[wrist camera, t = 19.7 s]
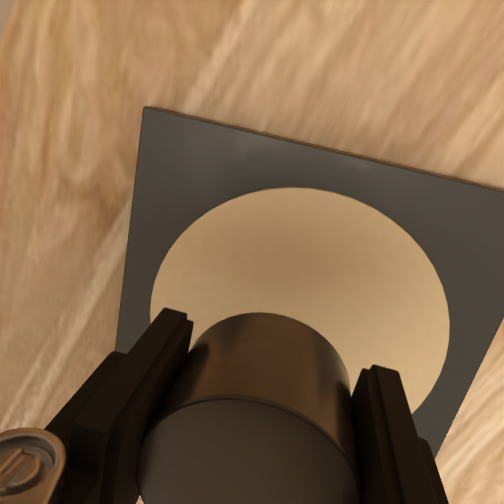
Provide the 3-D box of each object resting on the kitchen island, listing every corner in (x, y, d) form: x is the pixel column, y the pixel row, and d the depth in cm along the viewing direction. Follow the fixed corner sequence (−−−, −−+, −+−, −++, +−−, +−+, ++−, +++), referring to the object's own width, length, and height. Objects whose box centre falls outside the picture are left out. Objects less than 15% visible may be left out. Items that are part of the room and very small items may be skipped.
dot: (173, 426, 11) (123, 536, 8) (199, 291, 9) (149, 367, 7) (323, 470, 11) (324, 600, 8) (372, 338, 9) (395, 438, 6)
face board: (112, 412, 22) (104, 425, 22) (150, 105, 17) (140, 105, 16) (406, 498, 21) (410, 516, 20) (548, 200, 16) (563, 205, 15)
